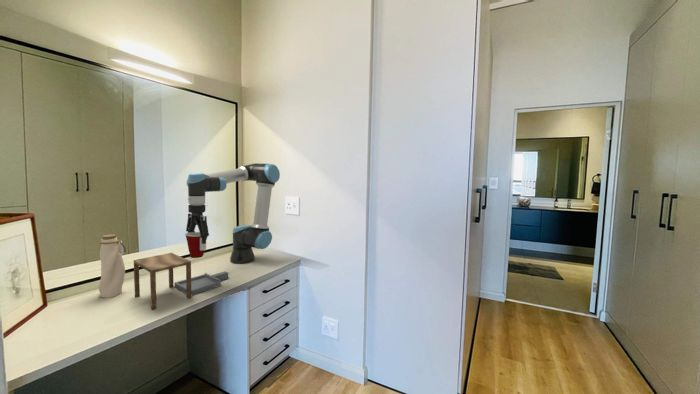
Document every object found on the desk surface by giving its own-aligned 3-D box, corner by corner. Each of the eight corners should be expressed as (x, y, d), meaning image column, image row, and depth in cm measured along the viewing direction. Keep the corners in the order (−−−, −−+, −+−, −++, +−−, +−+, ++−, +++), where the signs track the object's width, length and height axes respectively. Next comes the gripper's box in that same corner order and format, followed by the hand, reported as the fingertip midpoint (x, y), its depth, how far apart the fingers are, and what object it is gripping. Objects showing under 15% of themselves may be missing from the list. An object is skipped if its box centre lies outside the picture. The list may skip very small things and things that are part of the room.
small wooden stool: (172, 286, 146) (171, 252, 145) (191, 297, 135) (190, 261, 133) (134, 296, 133) (133, 260, 132) (152, 310, 122) (151, 270, 120)
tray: (219, 274, 164) (219, 268, 164) (234, 281, 155) (234, 275, 155) (174, 286, 145) (174, 280, 145) (189, 295, 136) (189, 289, 136)
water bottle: (125, 287, 143) (123, 232, 140) (128, 293, 136) (126, 235, 134) (98, 293, 135) (95, 234, 133) (99, 299, 129) (97, 238, 126)
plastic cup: (213, 255, 147) (213, 232, 146) (193, 261, 138) (192, 236, 137) (201, 252, 153) (200, 229, 152) (180, 256, 143) (180, 233, 142)
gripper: (178, 202, 147) (178, 244, 149) (201, 207, 133) (201, 253, 135) (193, 201, 153) (193, 242, 155) (216, 206, 139) (216, 250, 141)
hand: (197, 247), depth 145 cm, fingers closed on plastic cup, 10 cm apart
